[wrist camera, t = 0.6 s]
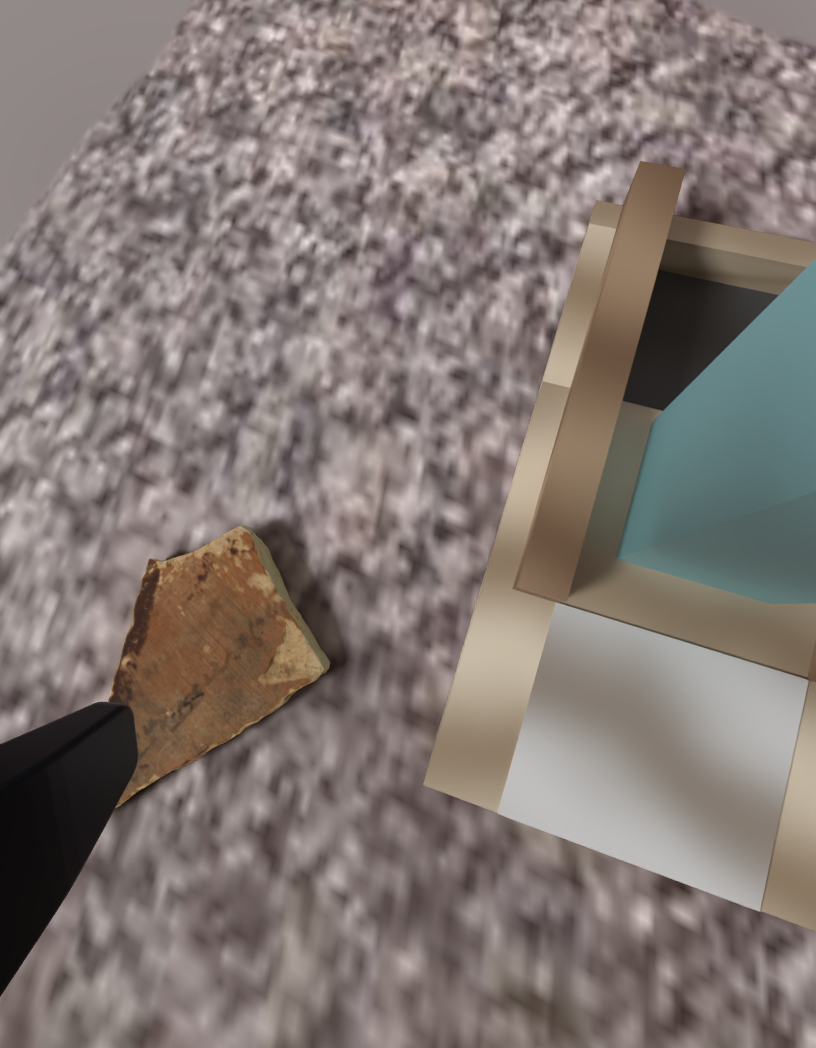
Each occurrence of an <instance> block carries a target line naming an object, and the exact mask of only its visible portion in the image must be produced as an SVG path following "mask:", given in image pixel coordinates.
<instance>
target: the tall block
mask: <svg viewBox="0 0 816 1048" xmlns="http://www.w3.org/2000/svg"><path fill="white" fill-rule="evenodd" d="M616 559H618V560H621V561H625V562H628V563H631V564H635V565H638V566H642V567H645V568H649V569H652V570H655V571H659V572H662V573H666V574H669V575H673V576H676V577H679V578H683V579H686V580H690V581H693V582H697V583H700V584H704V585H707V586H710V587H714V588H717V589H721V590H724V591H728V592H731V593H734V594H738V595H741V596H745V597H748V598H752V599H755V600H758V601H762V602H765V603H769V604H801V603H816V259H815V260H814V261H813V262H812V263H811V264H810V265H809V266H808V267H807V268H806V269H805V270H804V271H803V272H802V273H801V274H800V275H799V276H798V277H797V278H796V279H795V280H794V281H793V282H792V283H791V284H790V285H789V286H788V287H787V288H786V289H785V290H784V291H783V292H782V293H781V294H780V295H779V296H778V297H777V298H776V299H775V300H774V301H773V302H772V303H771V304H770V305H769V306H768V307H767V308H766V309H765V310H764V311H763V312H762V313H761V314H760V315H759V316H758V317H757V318H756V319H755V320H754V321H753V322H752V323H751V324H750V325H749V326H748V327H747V328H746V329H745V330H744V331H743V332H742V333H741V334H740V335H739V336H738V337H737V338H736V339H735V340H734V341H733V342H732V343H731V344H730V345H729V346H728V347H727V348H726V349H725V350H724V351H723V352H722V353H721V354H720V355H719V356H718V357H717V358H716V359H715V360H714V361H713V362H712V363H711V364H710V365H709V366H708V367H707V368H706V369H705V370H704V371H703V372H702V373H701V374H700V375H699V376H698V377H697V378H696V379H695V380H694V381H693V382H692V383H691V384H690V385H689V386H688V387H687V388H686V389H685V390H684V391H683V392H682V393H681V394H680V395H679V396H678V397H677V398H676V399H675V400H674V401H673V402H672V403H671V404H670V405H669V406H668V407H667V408H666V409H665V410H664V411H663V412H662V413H661V414H660V415H659V416H658V417H657V418H656V419H655V420H654V421H653V422H652V424H651V427H650V431H649V435H648V439H647V442H646V446H645V450H644V454H643V457H642V461H641V465H640V469H639V472H638V476H637V480H636V484H635V488H634V491H633V495H632V499H631V503H630V506H629V510H628V514H627V518H626V521H625V525H624V529H623V533H622V536H621V540H620V544H619V548H618V552H617V555H616Z"/></svg>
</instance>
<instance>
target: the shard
mask: <svg viewBox="0 0 816 1048" xmlns="http://www.w3.org/2000/svg"><path fill="white" fill-rule="evenodd" d="M329 665H330V661H329V660H328V658H327V656H326V655H325V653H324V652H323V651H322V649H321V648H320V647H319V645H318V643H317V641H316V639H315V638H314V636H313V634H312V633H311V631H310V629H309V628H308V626H307V625H306V623H305V621H304V620H303V618H302V616H301V614H300V613H299V612H298V611H297V609H296V607H295V605H294V604H293V602H292V601H291V599H290V597H289V594H288V592H287V590H286V587H285V585H284V582H283V579H282V577H281V575H280V572H279V570H278V569H277V568H276V565H275V563H274V562H273V559H272V557H271V554H270V551H269V548H268V547H267V546H266V545H265V544H264V543H263V541H262V539H260V538H258V537H257V536H256V534H255V533H254V532H253V531H252V529H251V528H250V527H247V526H238V527H236V528H235V529H233V530H231V531H229V532H227V533H225V534H224V535H222V536H221V537H220V538H219V539H216V540H214V541H212V542H211V543H209V544H207V545H205V546H204V547H202V548H200V549H198V550H195V551H193V552H191V553H189V554H185V555H182V556H179V557H176V558H172V559H170V560H167V561H160V560H157V559H149V561H148V565H147V568H146V573H145V575H144V577H143V579H142V583H141V590H140V592H139V594H138V596H137V598H136V602H135V606H134V611H133V624H132V626H131V628H130V630H129V632H128V633H127V635H126V638H125V643H124V647H123V650H122V655H121V659H120V662H119V665H118V668H117V671H116V674H115V677H114V680H113V685H112V689H111V696H110V698H109V700H108V702H111V703H120V704H126V705H128V706H130V708H131V709H132V711H133V714H134V721H135V730H136V738H137V746H138V762H137V766H136V769H135V772H134V774H133V776H132V778H131V780H130V782H129V783H128V785H127V787H126V789H125V791H124V793H123V795H122V796H121V798H120V800H119V802H118V804H117V806H116V807H118V806H120V805H121V804H123V803H124V802H125V801H126V800H128V799H129V798H130V797H131V796H133V795H134V794H135V793H137V792H138V791H140V790H141V789H143V788H145V787H147V786H148V785H150V784H151V783H153V782H154V781H156V780H157V779H159V778H160V777H162V776H164V775H166V774H167V773H170V772H171V771H173V770H175V769H179V768H181V767H183V766H185V765H188V764H189V763H191V762H193V761H194V760H196V759H197V758H199V757H201V756H203V755H204V754H205V753H207V752H208V751H209V750H211V749H212V748H214V747H216V746H218V745H221V744H223V743H225V742H227V741H229V740H230V739H232V738H233V737H234V736H236V735H238V734H240V733H241V732H242V731H243V730H244V729H245V728H247V727H248V726H250V725H252V724H254V723H257V722H259V721H260V720H261V719H262V718H264V717H265V716H267V715H269V714H271V713H272V712H274V711H275V710H277V709H278V708H279V707H281V706H282V705H283V704H285V703H286V702H287V701H288V700H289V698H290V697H291V695H292V694H294V693H295V692H296V691H297V690H299V689H300V688H302V687H304V686H305V685H307V684H310V683H312V682H314V681H316V680H317V679H318V678H319V677H320V676H321V675H322V674H324V673H326V672H327V670H328V669H329ZM116 807H115V808H116Z"/></svg>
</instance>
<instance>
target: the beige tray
mask: <svg viewBox="0 0 816 1048" xmlns="http://www.w3.org/2000/svg"><path fill="white" fill-rule="evenodd" d="M685 170H686V169H681V168H675V167H670V166H664V165H659V164H653V163H648V162H642V161H640V163H639V166H638V168H637V171H636V174H635V176H634V179H633V181H632V184H631V186H630V189H629V191H628V194H627V196H626V199H625V202H624V204H623V205H618V204H613V203H608V202H602V201H597V200H596V203H595V206H594V209H593V212H592V215H591V218H590V221H589V225H588V228H587V231H586V234H585V237H584V240H583V244H582V247H581V250H580V254H579V257H578V261H577V264H576V267H575V271H574V274H573V277H572V281H571V284H570V288H569V291H568V294H567V298H566V301H565V304H564V308H563V311H562V315H561V318H560V321H559V325H558V328H557V331H556V335H555V338H554V342H553V345H552V348H551V352H550V355H549V358H548V362H547V365H546V369H545V372H544V375H543V379H542V382H541V385H540V389H539V392H538V396H537V399H536V402H535V406H534V409H533V412H532V416H531V419H530V423H529V426H528V429H527V433H526V436H525V439H524V443H523V446H522V450H521V453H520V456H519V460H518V463H517V466H516V470H515V473H514V477H513V480H512V483H511V487H510V490H509V493H508V497H507V500H506V504H505V507H504V510H503V514H502V517H501V520H500V524H499V527H498V531H497V534H496V537H495V541H494V544H493V547H492V551H491V554H490V558H489V561H488V564H487V568H486V571H485V575H484V578H483V581H482V585H481V588H480V591H479V595H478V598H477V602H476V605H475V608H474V612H473V615H472V618H471V622H470V625H469V629H468V632H467V635H466V639H465V642H464V645H463V649H462V652H461V656H460V659H459V662H458V666H457V669H456V672H455V676H454V679H453V683H452V686H451V689H450V693H449V696H448V699H447V703H446V706H445V710H444V713H443V716H442V720H441V723H440V726H439V730H438V733H437V737H436V740H435V743H434V747H433V750H432V753H431V757H430V760H429V764H428V767H427V771H426V776H425V780H424V784H423V785H424V786H427V787H430V788H433V789H435V790H438V791H441V792H443V793H446V794H449V795H451V796H454V797H457V798H459V799H462V800H465V801H467V802H470V803H473V804H475V805H478V806H481V807H483V808H486V809H489V810H492V811H494V812H497V813H498V814H499V815H502V816H505V817H507V818H510V819H513V820H515V821H518V822H521V823H523V824H526V825H529V826H531V827H534V828H537V829H540V830H542V831H545V832H548V833H550V834H553V835H556V836H558V837H561V838H564V839H566V840H569V841H572V842H574V843H577V844H580V845H582V846H585V847H588V848H590V849H593V850H596V851H598V852H601V853H604V854H607V855H609V856H612V857H615V858H617V859H620V860H623V861H625V862H628V863H631V864H633V865H636V866H639V867H641V868H644V869H647V870H649V871H652V872H655V873H657V874H660V875H663V876H665V877H668V878H671V879H674V880H676V881H679V882H682V883H684V884H687V885H690V886H692V887H695V888H698V889H700V890H703V891H706V892H708V893H711V894H714V895H716V896H719V897H722V898H724V899H727V900H730V901H732V902H735V903H738V904H741V905H743V906H746V907H749V908H751V909H754V910H757V911H759V912H760V911H762V912H765V913H768V914H771V915H773V916H776V917H779V918H781V919H784V920H787V921H789V922H792V923H795V924H797V925H800V926H803V927H805V928H808V929H811V930H813V931H816V603H801V604H769V603H765V602H762V601H758V600H755V599H752V598H748V597H745V596H741V595H738V594H734V593H731V592H728V591H724V590H721V589H717V588H714V587H710V586H707V585H704V584H700V583H697V582H693V581H690V580H686V579H683V578H679V577H676V576H673V575H669V574H666V573H662V572H659V571H655V570H652V569H649V568H645V567H642V566H638V565H635V564H631V563H628V562H625V561H621V560H618V559H616V555H617V552H618V548H619V544H620V540H621V536H622V533H623V529H624V525H625V521H626V518H627V514H628V510H629V506H630V503H631V499H632V495H633V491H634V488H635V484H636V480H637V476H638V472H639V469H640V465H641V461H642V457H643V454H644V450H645V446H646V442H647V439H648V435H649V431H650V427H651V424H652V422H653V421H654V420H655V419H656V418H657V417H658V416H659V415H660V414H661V413H662V412H663V411H664V410H665V409H666V408H667V407H668V406H669V405H670V404H671V403H672V402H673V401H674V400H675V399H676V398H677V397H678V396H679V395H680V394H681V393H682V392H683V391H684V390H685V389H686V388H687V387H688V386H689V385H690V384H691V383H692V382H693V381H694V380H695V379H696V378H697V377H698V376H699V375H700V374H701V373H702V372H703V371H704V370H705V369H706V368H707V367H708V366H709V365H710V364H711V363H712V362H713V361H714V360H715V359H716V358H717V357H718V356H719V355H720V354H721V353H722V352H723V351H724V350H725V349H726V348H727V347H728V346H729V345H730V344H731V343H732V342H733V341H734V340H735V339H736V338H737V337H738V336H739V335H740V334H741V333H742V332H743V331H744V330H745V329H746V328H747V327H748V326H749V325H750V324H751V323H752V322H753V321H754V320H755V319H756V318H757V317H758V316H759V315H760V314H761V313H762V312H763V311H764V310H765V309H766V308H767V307H768V306H769V305H770V304H771V303H772V302H773V301H774V300H775V299H776V298H777V297H778V296H779V295H780V294H781V293H782V292H783V291H784V290H785V289H786V288H787V287H788V286H789V285H790V284H791V283H792V282H793V281H794V280H795V279H796V278H797V277H798V276H799V275H800V274H801V273H802V272H803V271H804V270H805V269H806V268H807V267H808V266H809V265H810V264H811V263H812V262H813V261H814V260H815V259H816V243H814V242H809V241H803V240H798V239H793V238H788V237H783V236H778V235H772V234H767V233H762V232H757V231H752V230H747V229H742V228H736V227H731V226H726V225H721V224H716V223H711V222H705V221H700V220H695V219H690V218H685V217H680V216H675V215H673V214H674V210H675V207H676V203H677V199H678V196H679V192H680V189H681V185H682V181H683V178H684V174H685Z"/></svg>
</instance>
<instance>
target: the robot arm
mask: <svg viewBox="0 0 816 1048" xmlns="http://www.w3.org/2000/svg"><path fill="white" fill-rule="evenodd" d="M137 762H138V746H137V738H136V730H135V721H134V714H133V711H132V709H131V708H130V706H128V705H126V704H120V703H111V702H97V703H94V704H92V705H90V706H87V707H85V708H83V709H80V710H78V711H76V712H73V713H71V714H69V715H67V716H64V717H62V718H60V719H57V720H55V721H53V722H51V723H48V724H46V725H44V726H41V727H39V728H37V729H34V730H32V731H30V732H28V733H25V734H23V735H21V736H18V737H16V738H14V739H11V740H9V741H7V742H5V743H2V744H0V997H1V995H2V994H3V992H4V990H5V989H6V987H7V986H8V984H9V983H10V981H11V980H12V978H13V977H14V975H15V974H16V972H17V971H18V969H19V968H20V966H21V965H22V963H23V962H24V960H25V959H26V957H27V956H28V954H29V953H30V951H31V949H32V948H33V946H34V945H35V943H36V942H37V940H38V939H39V937H40V936H41V934H42V933H43V931H44V930H45V928H46V927H47V925H48V924H49V922H50V921H51V919H52V918H53V916H54V915H55V913H56V911H57V910H58V908H59V907H60V905H61V904H62V902H63V900H64V899H65V897H66V896H67V894H68V892H69V891H70V889H71V887H72V886H73V884H74V882H75V881H76V879H77V877H78V875H79V874H80V872H81V870H82V868H83V866H84V865H85V863H86V861H87V859H88V857H89V855H90V854H91V852H92V850H93V848H94V846H95V844H96V842H97V841H98V839H99V837H100V835H101V833H102V831H103V830H104V828H105V826H106V824H107V822H108V820H109V819H110V817H111V815H112V813H113V811H114V809H115V807H116V806H117V804H118V802H119V800H120V798H121V796H122V795H123V793H124V791H125V789H126V787H127V785H128V783H129V782H130V780H131V778H132V776H133V774H134V772H135V769H136V766H137Z"/></svg>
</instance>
